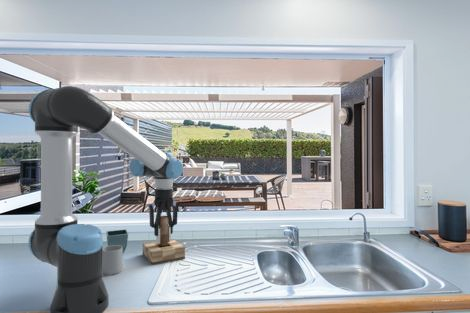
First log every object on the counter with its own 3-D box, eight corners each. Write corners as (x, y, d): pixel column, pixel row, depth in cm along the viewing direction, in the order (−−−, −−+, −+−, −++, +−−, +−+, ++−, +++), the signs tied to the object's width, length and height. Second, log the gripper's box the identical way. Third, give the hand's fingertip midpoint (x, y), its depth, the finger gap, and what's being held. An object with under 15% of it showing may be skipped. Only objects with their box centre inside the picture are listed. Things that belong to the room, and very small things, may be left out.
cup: (97, 274, 114) (97, 250, 114) (113, 264, 124) (113, 242, 124) (115, 276, 113) (115, 251, 113) (129, 266, 123) (129, 243, 122)
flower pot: (106, 250, 141) (106, 231, 141) (126, 248, 145) (126, 229, 144) (106, 256, 133) (106, 235, 133) (128, 254, 137) (128, 233, 136)
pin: (169, 249, 133) (169, 217, 133) (160, 250, 131) (160, 218, 131) (166, 246, 136) (166, 215, 136) (157, 248, 134) (157, 216, 134)
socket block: (184, 258, 131) (184, 247, 131) (152, 264, 124) (152, 252, 124) (173, 249, 143) (173, 238, 143) (142, 254, 136) (142, 243, 136)
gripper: (179, 186, 141) (178, 237, 141) (141, 188, 132) (141, 242, 132) (185, 188, 134) (185, 241, 135) (146, 190, 125) (146, 247, 126)
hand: (163, 242), depth 134 cm, fingers closed on pin, 4 cm apart
